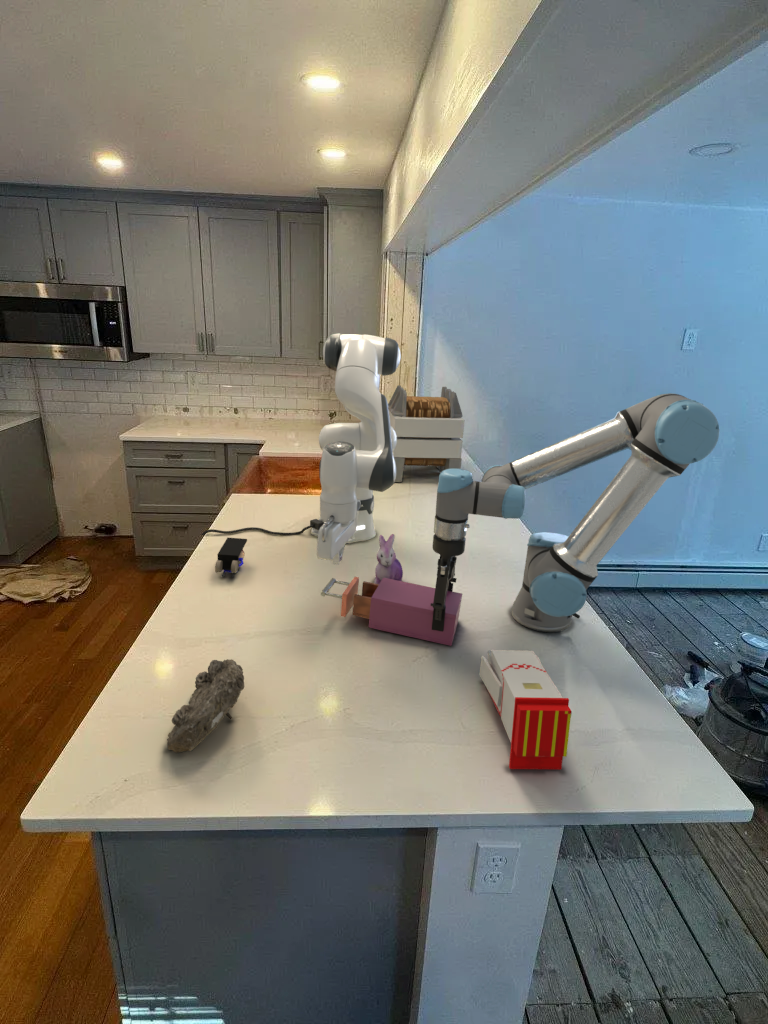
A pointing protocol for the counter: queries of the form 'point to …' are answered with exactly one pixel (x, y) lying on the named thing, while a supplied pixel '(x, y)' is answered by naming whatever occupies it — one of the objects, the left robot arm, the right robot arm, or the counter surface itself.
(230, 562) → the figurine character
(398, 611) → the cabinet
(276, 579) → the counter surface
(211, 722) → the fossil
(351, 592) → the drawer
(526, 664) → the toy
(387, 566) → the figurine
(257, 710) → the counter surface
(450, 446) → the transformer
